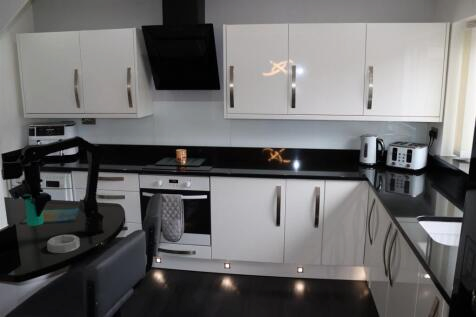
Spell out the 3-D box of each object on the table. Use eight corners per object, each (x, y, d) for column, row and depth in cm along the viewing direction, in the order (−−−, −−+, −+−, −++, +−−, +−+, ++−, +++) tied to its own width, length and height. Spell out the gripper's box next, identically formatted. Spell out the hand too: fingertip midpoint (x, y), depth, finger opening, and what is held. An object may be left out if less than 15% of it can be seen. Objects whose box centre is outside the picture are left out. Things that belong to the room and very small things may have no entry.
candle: (31, 226, 156) (29, 197, 154) (24, 223, 160) (22, 194, 158) (46, 223, 161) (44, 194, 159) (39, 219, 164) (37, 191, 162)
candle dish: (70, 238, 168) (70, 232, 167) (85, 246, 160) (85, 239, 160) (41, 246, 159) (41, 239, 158) (56, 255, 151) (55, 248, 151)
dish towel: (75, 223, 188) (74, 218, 188) (20, 225, 182) (20, 220, 182) (80, 211, 204) (79, 207, 204) (30, 214, 198) (30, 209, 198)
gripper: (1, 176, 157) (4, 213, 159) (20, 184, 145) (23, 225, 148) (30, 172, 165) (32, 207, 168) (51, 180, 153) (53, 218, 156)
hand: (34, 214), depth 160 cm, fingers closed on candle, 7 cm apart
